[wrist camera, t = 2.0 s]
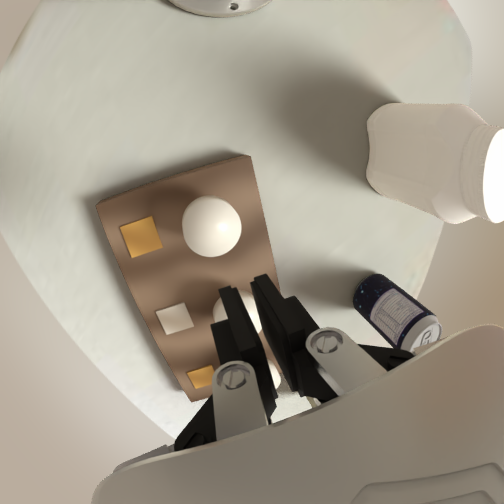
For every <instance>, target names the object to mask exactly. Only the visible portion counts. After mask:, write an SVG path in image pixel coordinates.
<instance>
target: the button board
mask: <svg viewBox="0 0 504 504" xmlns="http://www.w3.org/2000/svg"><path fill="white" fill-rule="evenodd" d="M208 195H213V196H218V197H220V198H223V199H224V200H226V201H227V202H228V203H229V204H230V205H231V206H232V207H233V209H234V210H235V211H236V212H237V214H238V216H239V218H240V221H241V234H240V237H239V240H238V242H237V243H236V245H235V246H234V247H233V248H232V249H231V250H230V251H228V252H227V253H225V254H223V255H220V256H216V257H205V256H202V255H199V254H197V253H195V252H194V251H193V250H191V249H190V247H189V246H188V245H187V243H186V241H185V239H184V235H183V228H182V218H183V214H184V212H185V210H186V208H187V207H188V205H189V204H190V203H191V202H193V201H194V200H195V199H197V198H200V197H202V196H208ZM96 209H97V212H98V214H99V217H100V220H101V222H102V225H103V228H104V230H105V233H106V235H107V238H108V240H109V243H110V245H111V248H112V250H113V253H114V255H115V257H116V260H117V262H118V265H119V267H120V269H121V271H122V274H123V276H124V278H125V280H126V283H127V285H128V287H129V289H130V291H131V293H132V296H133V298H134V300H135V302H136V304H137V306H138V308H139V310H140V312H141V314H142V316H143V318H144V320H145V322H146V324H147V326H148V328H149V330H150V332H151V334H152V336H153V337H154V339H155V341H156V343H157V345H158V347H159V349H160V350H161V352H162V354H163V356H164V358H165V359H166V361H167V363H168V365H169V366H170V368H171V370H172V372H173V373H174V375H175V377H176V378H177V380H178V382H179V383H180V385H181V387H182V388H183V390H184V392H185V393H186V395H187V396H188V398H189V400H190V401H191V402H195V401H198V400H202V399H205V398H209V397H210V396H211V395H212V393H213V392H212V376H213V374H214V372H215V371H216V370H217V369H218V368H219V367H220V366H221V365H220V361H219V358H218V354H217V350H216V346H215V342H214V338H213V335H212V331H211V327H210V324H213V323H215V320H214V317H213V308H214V305H215V303H216V302H217V300H218V299H219V298H220V294H219V291H218V289H220V288H223V287H226V286H229V285H230V286H231V288H234V287H237V289H238V290H241V291H246V292H249V293H251V294H252V295H253V293H252V289H251V286H250V282H252V281H254V277H256V276H259V275H262V274H265V273H266V274H267V275H268V276H269V278H270V279H271V281H272V282H273V284H274V285H275V286H276V288H277V289H278V291H279V292H280V287H279V283H278V278H277V273H276V268H275V264H274V259H273V254H272V250H271V245H270V240H269V236H268V231H267V227H266V222H265V218H264V213H263V209H262V204H261V200H260V195H259V191H258V186H257V182H256V178H255V173H254V169H253V164H252V160H251V156H248V155H242V156H238V157H235V158H231V159H227V160H223V161H220V162H216V163H213V164H209V165H206V166H202V167H199V168H195V169H192V170H189V171H185V172H182V173H179V174H176V175H173V176H170V177H166V178H163V179H160V180H157V181H154V182H151V183H148V184H145V185H142V186H140V187H137V188H134V189H131V190H128V191H126V192H123V193H120V194H117V195H115V196H112V197H109V198H107V199H104V200H101V201H100V202H99V203H98V204H97V205H96ZM280 294H281V292H280ZM258 335H259V337H260V339H261V342H262V344H263V347H264V350H265V353H266V357H267V359H269V360H271V361H272V362H273V363H274V365H275V367H276V369H277V371H278V373H279V374H281V373H283V372H282V371H281V369H280V367H279V365H278V363H277V361H276V359H275V357H274V355H273V353H272V350H271V348H270V346H269V344H268V342H267V340H266V338H265V336H264V333H263V330H262V329H261V331H260V332H259V333H258Z"/></svg>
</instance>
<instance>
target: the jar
mask: <svg viewBox="0 0 504 504" xmlns="http://www.w3.org/2000/svg"><path fill="white" fill-rule="evenodd" d="M367 132H368V136H369V144H370V153H369V161H368V166H367V169H366V178H367V180H368V182H369V183H370V185H371V186H372V187H373V188H374V190H376V191H377V192H378V193H379V194H381V195H382V196H384V197H387V198H390V199H392V200H396V201H400V202H402V203H405V204H408V205H410V206H413V207H415V208H418V209H420V210H422V211H425V212H427V213H430V214H432V215H434V216H436V217H437V218H439V219H441V220H443V221H446V222H448V223H452V224H458V223H462V222H464V221H467V220H469V219H471V218H474V217H476V216H479V217H481V218H484V219H486V220H488V221H491V222H493V223H499V222H502V221H503V220H504V128H502V127H497V126H491V125H487V123H486V122H485V121H484V120H483V119H482V118H481V117H480V116H479V115H478V114H477V113H476V112H475V111H474V110H472V109H471V108H470V107H468V106H466V105H462V104H405V103H390V104H386V105H383V106H381V107H379V108H378V109H377V110H375V111H374V112H373V113H372V114H371V116H370V117H369V118H368V120H367Z"/></svg>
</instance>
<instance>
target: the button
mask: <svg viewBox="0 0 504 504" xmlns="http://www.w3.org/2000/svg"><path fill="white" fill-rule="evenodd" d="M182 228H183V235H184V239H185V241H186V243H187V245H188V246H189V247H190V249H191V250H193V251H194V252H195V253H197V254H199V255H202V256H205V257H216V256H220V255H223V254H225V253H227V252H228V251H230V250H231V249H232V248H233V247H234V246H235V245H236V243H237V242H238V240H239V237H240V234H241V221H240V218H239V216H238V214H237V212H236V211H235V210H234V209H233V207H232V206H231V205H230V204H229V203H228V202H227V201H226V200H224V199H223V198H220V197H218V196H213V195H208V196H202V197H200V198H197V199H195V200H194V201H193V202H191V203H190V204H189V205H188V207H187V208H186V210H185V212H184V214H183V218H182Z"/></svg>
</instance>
